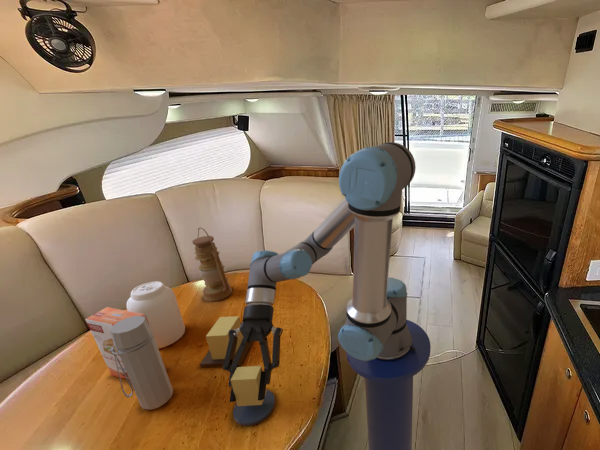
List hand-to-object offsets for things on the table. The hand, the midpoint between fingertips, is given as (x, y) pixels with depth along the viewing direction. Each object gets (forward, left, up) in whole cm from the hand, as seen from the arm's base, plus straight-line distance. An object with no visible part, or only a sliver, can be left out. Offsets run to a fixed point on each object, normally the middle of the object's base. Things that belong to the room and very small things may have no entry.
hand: (247, 400), depth 78 cm
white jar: (+45, -24, -6) cm, 52 cm away
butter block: (+19, -21, -4) cm, 28 cm away
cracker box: (+40, -9, -6) cm, 42 cm away
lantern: (+43, -50, -6) cm, 67 cm away
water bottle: (+28, -1, -6) cm, 29 cm away
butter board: (+20, -24, -6) cm, 31 cm away
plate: (0, -2, -6) cm, 6 cm away
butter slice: (0, -2, -2) cm, 4 cm away
